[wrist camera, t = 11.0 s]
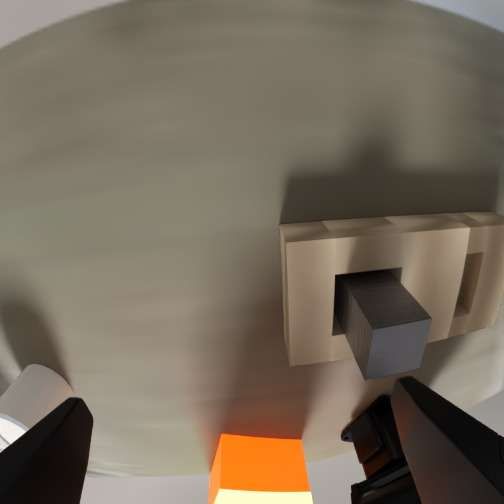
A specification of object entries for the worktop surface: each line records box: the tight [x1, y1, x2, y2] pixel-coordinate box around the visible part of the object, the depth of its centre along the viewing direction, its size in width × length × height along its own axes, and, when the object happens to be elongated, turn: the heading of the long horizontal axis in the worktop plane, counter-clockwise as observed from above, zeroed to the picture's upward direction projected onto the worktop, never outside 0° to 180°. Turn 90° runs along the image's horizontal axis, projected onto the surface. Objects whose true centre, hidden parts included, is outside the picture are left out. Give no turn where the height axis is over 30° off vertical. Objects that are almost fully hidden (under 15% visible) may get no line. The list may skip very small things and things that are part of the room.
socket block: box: [279, 211, 504, 366], centre depth 19 cm, size 16×8×3 cm, turn 95°
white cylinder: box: [0, 364, 75, 445], centre depth 20 cm, size 7×7×7 cm
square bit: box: [333, 269, 432, 380], centre depth 17 cm, size 3×3×8 cm
